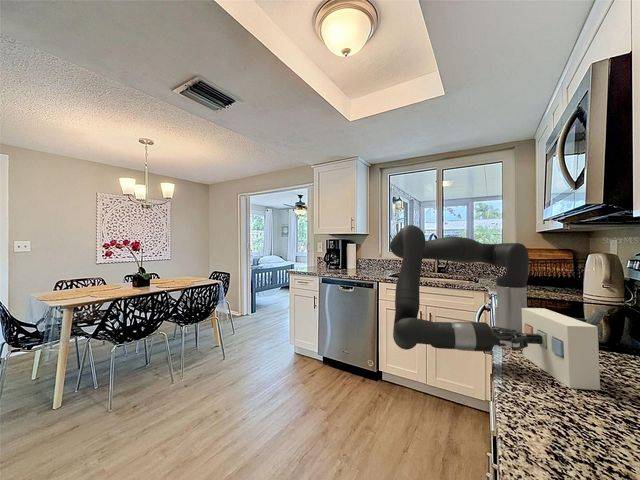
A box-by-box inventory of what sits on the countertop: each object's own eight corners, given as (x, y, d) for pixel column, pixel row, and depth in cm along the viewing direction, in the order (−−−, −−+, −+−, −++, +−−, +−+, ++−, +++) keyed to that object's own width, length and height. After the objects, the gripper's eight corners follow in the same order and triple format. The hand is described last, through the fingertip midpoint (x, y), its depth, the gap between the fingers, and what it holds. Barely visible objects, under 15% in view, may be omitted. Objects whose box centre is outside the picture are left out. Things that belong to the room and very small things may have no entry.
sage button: (544, 347, 71) (544, 334, 71) (537, 342, 74) (536, 330, 74) (553, 347, 71) (553, 334, 71) (545, 343, 74) (545, 331, 74)
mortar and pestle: (562, 342, 92) (560, 306, 93) (562, 335, 99) (561, 301, 100) (610, 350, 85) (609, 311, 85) (607, 342, 92) (606, 306, 92)
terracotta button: (530, 339, 77) (530, 327, 77) (524, 335, 80) (524, 324, 80) (539, 339, 77) (538, 328, 77) (532, 336, 80) (531, 324, 80)
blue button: (560, 356, 65) (560, 342, 65) (551, 351, 68) (551, 338, 69) (570, 356, 65) (569, 342, 65) (560, 351, 68) (560, 338, 68)
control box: (569, 388, 63) (567, 325, 64) (523, 355, 82) (521, 307, 82) (600, 390, 62) (597, 326, 63) (545, 356, 81) (544, 308, 81)
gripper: (478, 329, 69) (557, 332, 66) (460, 316, 82) (525, 318, 80) (479, 359, 69) (558, 363, 66) (461, 341, 82) (526, 344, 79)
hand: (540, 338), depth 73 cm, fingers closed
